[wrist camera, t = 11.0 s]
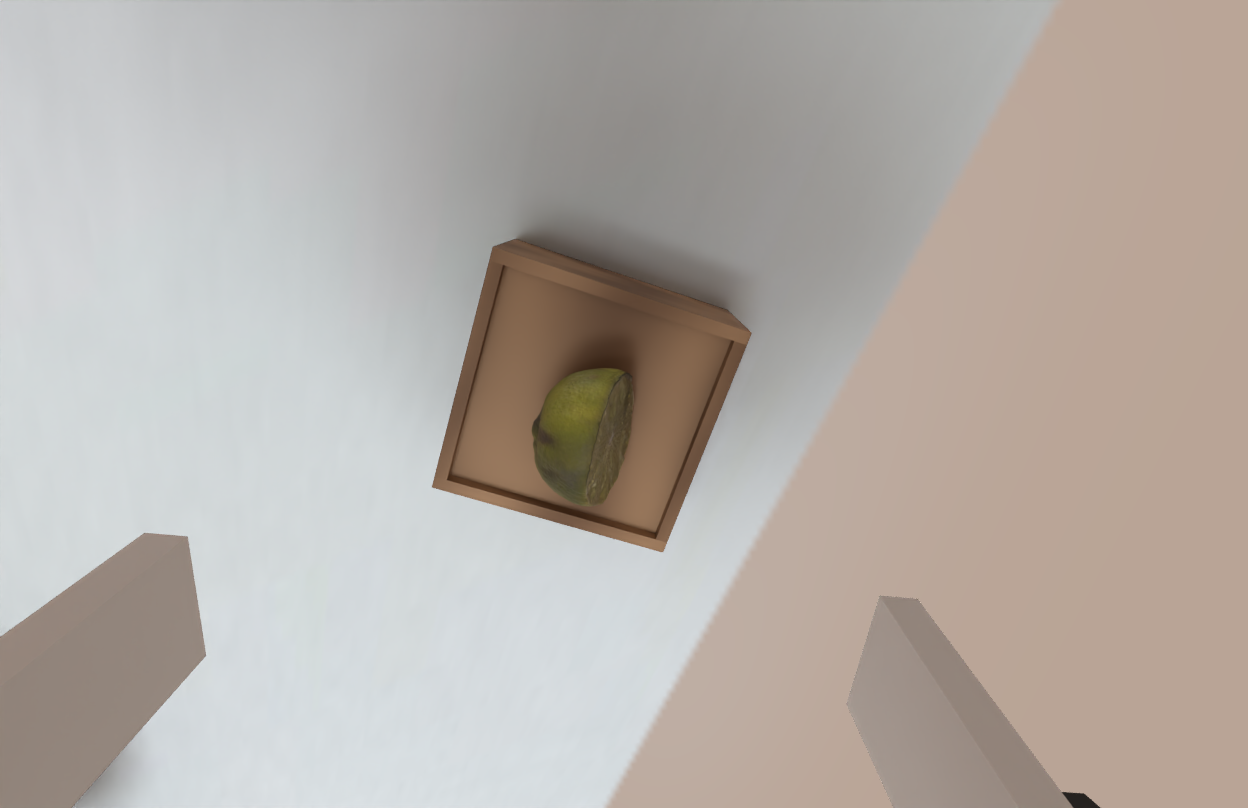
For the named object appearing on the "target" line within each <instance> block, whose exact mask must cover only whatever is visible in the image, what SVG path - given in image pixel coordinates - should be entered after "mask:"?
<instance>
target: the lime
mask: <svg viewBox="0 0 1248 808" xmlns="http://www.w3.org/2000/svg"><path fill="white" fill-rule="evenodd" d="M631 382H632V375H630V373H627V372H625V371H622V370H619V369H613V368H598V369H589V370H583V371H579V372H575V373H573V374H570V375H568V376H567V377H565V378H563V379H562V380H561V381H560V382H559V383H558V384H557V385H555V386H554V387H553V388H552V389H551V391H550V392H549V393H548V394H547V396H546V398H545V401H544V404H543V407H542V409H541V412H540V414H539V415H538V417H537V418H536V419H535V421H534V422H533V425H532V436H533V438H534V440H533V448H534V460H535V464H536V468H537V470H538V472H539V474H540V475H541V477H542V479H543V480H544V481H545V482H546V484H547V485H548V486H549V487H550V488H551V489H552V490H553V491H554V492H556V493H557V494H558V495H559V496H561V497H563V498H565V499H566V500H568V501H570V502H572V503H574V504H577V505H581V506H596V505H600V504H603V503H604V501H605V500H606V499H607V496H608V494H609V492H610V490H611V489H612V487H613V485H614V483H615V482H616V481H617V479H618V475H619V471H620V470H621V466H622V464H623V462H624V460H625V457H624V455H625V452H626V450H627V447H628V443H629V438H630V433H631V421H632V412H633V404H634V392H633V385H632V384H631Z"/></svg>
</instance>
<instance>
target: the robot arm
mask: <svg viewBox="0 0 1248 808" xmlns="http://www.w3.org/2000/svg"><path fill="white" fill-rule="evenodd" d="M205 656H206V652H205V645H204V639H203V632H202V626H201V620H200V613H199V607H198V600H197V594H196V588H195V581H194V575H193V568H192V562H191V555H190V549H189V543H188V537H187V536H175V535H163V534H152V533H144V534H142V535H141V536H140V537H138V538H137V539H135V540H134V541H133V542H131V543H130V544H129V545H127V546H126V547H124V548H123V549H122V550H120V551H119V552H117V553H116V554H115V555H113V556H112V557H111V558H109V559H108V560H106V561H105V562H104V563H102V564H101V565H99V566H98V567H97V568H95V569H94V570H92V571H91V572H90V573H88V574H87V575H86V576H84V577H83V578H81V579H80V580H79V581H77V582H76V583H74V584H73V585H72V586H70V587H69V588H68V589H66V590H65V591H63V592H62V593H61V594H59V595H58V596H56V597H55V598H54V599H52V600H51V601H50V602H48V603H47V604H45V605H44V606H43V607H41V608H40V609H38V610H37V611H36V612H34V613H33V614H32V615H30V616H29V617H27V618H26V619H25V620H23V621H22V622H20V623H19V624H18V625H16V626H15V627H14V628H12V629H11V630H9V631H8V632H7V633H5V634H4V635H2V636H1V637H0V808H72V807H73V805H74V804H75V803H76V802H77V801H78V800H79V799H80V798H81V796H82V795H83V794H84V793H85V792H86V791H87V790H88V788H89V787H90V786H91V785H92V784H93V783H94V782H95V781H96V779H97V778H98V777H99V776H100V775H101V774H102V773H103V772H104V770H105V769H106V768H107V767H108V766H109V765H110V764H111V762H112V761H113V760H114V759H115V758H116V757H117V756H118V755H119V753H120V752H121V751H122V750H123V749H124V748H125V747H126V746H127V744H128V743H129V742H130V741H131V740H132V739H133V738H134V736H135V735H136V734H137V733H138V732H139V731H140V730H141V729H142V727H143V726H144V725H145V724H146V723H147V722H148V721H149V720H150V718H151V717H152V716H153V715H154V714H155V713H156V712H157V710H158V709H159V708H160V707H161V706H162V705H163V704H164V703H165V701H166V700H167V699H168V698H169V697H170V696H171V695H172V694H173V692H174V691H175V690H176V689H177V688H178V687H179V686H180V685H181V683H182V682H183V681H184V680H185V679H186V678H187V677H188V675H189V674H190V673H191V672H192V671H193V670H194V669H195V668H196V666H197V665H198V664H199V663H200V662H201V661H202V660H203V659H204V657H205ZM847 706H848V708H849V711H850V713H851V715H852V717H853V720H854V722H855V724H856V726H857V728H858V731H859V733H860V735H861V737H862V739H863V742H864V744H865V746H866V748H867V750H868V753H869V755H870V757H871V759H872V761H873V764H874V766H875V768H876V770H877V773H878V775H879V777H880V779H881V781H882V784H883V786H884V788H885V790H886V792H887V795H888V797H889V799H890V801H891V803H892V806H893V808H1100V807H1099V806H1098V805H1097V804H1095V803H1094V802H1093V801H1092V800H1091V799H1090V798H1089V797H1087V796H1086V795H1085V794H1081V793H1067V792H1061V791H1060V789H1059V788H1058V787H1057V785H1056V784H1055V783H1054V781H1053V780H1052V779H1051V777H1050V776H1049V775H1048V773H1047V772H1046V771H1045V769H1044V768H1043V767H1042V765H1041V764H1040V763H1039V761H1038V760H1037V759H1036V757H1035V756H1034V754H1033V753H1032V752H1031V751H1030V749H1029V748H1028V746H1027V745H1026V744H1025V742H1024V741H1023V740H1022V738H1021V737H1020V736H1019V734H1018V733H1017V732H1016V730H1015V729H1014V728H1013V726H1012V725H1011V724H1010V722H1009V721H1008V720H1007V718H1006V717H1005V716H1004V715H1003V713H1002V711H1001V710H1000V709H999V707H998V706H997V705H996V703H995V702H994V701H993V699H992V698H991V697H990V695H989V694H988V693H987V691H986V690H985V689H984V687H983V686H982V685H981V683H980V682H979V681H978V679H977V678H976V677H975V675H974V674H973V673H972V671H971V670H970V669H969V667H968V666H967V665H966V663H965V662H964V660H963V659H962V658H961V657H960V655H959V654H958V652H957V651H956V650H955V649H954V647H953V646H952V644H951V643H950V642H949V640H948V639H947V638H946V636H945V635H944V634H943V632H942V631H941V630H940V628H939V627H938V626H937V624H936V623H935V622H934V620H933V619H932V618H931V616H930V615H929V614H928V612H927V611H926V610H925V608H924V607H923V605H922V604H921V603H920V601H919V600H918V599H912V598H900V597H889V596H879V600H878V603H877V606H876V609H875V613H874V616H873V619H872V622H871V626H870V629H869V632H868V636H867V639H866V642H865V645H864V649H863V652H862V655H861V658H860V662H859V665H858V668H857V672H856V675H855V678H854V681H853V685H852V688H851V691H850V694H849V698H848V701H847Z"/></svg>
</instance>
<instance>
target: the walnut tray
mask: <svg viewBox="0 0 1248 808" xmlns="http://www.w3.org/2000/svg"><path fill="white" fill-rule="evenodd" d="M750 336H751V332H750V331H749V330H748V329H747V328H746V327H745V326H744V325H743V324H742V323H741V322H740V321H739V320H738V319H736V318H735V317H734V316H733V315H732V314H731V313H730V312H729V311H728V310H726V309H723V308H720V307H717V306H714V305H711V304H708V303H705V302H702V301H699V300H696V299H693V298H690V297H687V296H684V295H681V294H678V293H675V292H672V291H669V290H666V289H663V288H660V287H657V286H654V285H651V284H648V283H645V282H642V281H639V280H636V279H633V278H630V277H627V276H624V275H621V274H618V273H615V272H612V271H609V270H606V269H603V268H601V267H598V266H595V265H592V264H589V263H586V262H583V261H580V260H577V259H574V258H571V257H568V256H565V255H562V254H559V253H556V252H553V251H550V250H547V249H544V248H541V247H538V246H535V245H532V244H529V243H526V242H523V241H520V240H517V239H514V240H511V241H508V242H505V243H502V244H500V245H497V246H494V247H493V248H492V252H491V256H490V260H489V264H488V268H487V272H486V276H485V280H484V284H483V288H482V291H481V295H480V299H479V303H478V307H477V311H476V315H475V319H474V323H473V327H472V331H471V335H470V339H469V343H468V347H467V351H466V355H465V359H464V363H463V367H462V370H461V374H460V378H459V382H458V386H457V390H456V394H455V398H454V402H453V406H452V410H451V414H450V418H449V422H448V426H447V430H446V434H445V438H444V442H443V446H442V449H441V453H440V457H439V461H438V465H437V469H436V473H435V477H434V481H433V485H432V487H433V488H436V489H440V490H443V491H447V492H450V493H454V494H458V495H461V496H465V497H468V498H472V499H475V500H479V501H482V502H486V503H489V504H493V505H497V506H500V507H504V508H507V509H511V510H514V511H518V512H521V513H525V514H528V515H532V516H536V517H539V518H543V519H546V520H550V521H553V522H557V523H560V524H564V525H567V526H571V527H575V528H578V529H582V530H585V531H589V532H592V533H596V534H599V535H603V536H606V537H610V538H614V539H617V540H621V541H624V542H628V543H631V544H635V545H638V546H642V547H645V548H649V549H653V550H656V551H660V552H663V551H664V549H665V546H666V544H667V541H668V539H669V536H670V534H671V531H672V529H673V526H674V524H675V521H676V519H677V516H678V514H679V511H680V509H681V507H682V504H683V502H684V499H685V497H686V494H687V492H688V489H689V487H690V484H691V482H692V479H693V477H694V474H695V472H696V469H697V467H698V465H699V462H700V460H701V457H702V455H703V452H704V450H705V447H706V445H707V442H708V440H709V437H710V435H711V432H712V430H713V427H714V425H715V422H716V420H717V418H718V415H719V413H720V410H721V408H722V405H723V403H724V400H725V398H726V395H727V393H728V390H729V388H730V385H731V383H732V380H733V378H734V376H735V373H736V371H737V368H738V366H739V363H740V361H741V358H742V356H743V353H744V351H745V348H746V346H747V343H748V341H749V338H750ZM598 368H613V369H619V370H622V371H625V372H627V373H630V375H632V382H631V384H632V385H633V392H634V404H633V412H632V421H631V433H630V438H629V443H628V447H627V450H626V452H625V455H624V457H625V460H624V462H623V464H622V466H621V470H620V471H619V475H618V479H617V481H616V482H615V483H614V485H613V487H612V489H611V490H610V492H609V494H608V496H607V499H606V500H605V501H604V503H603V504H600V505H596V506H581V505H577V504H574V503H572V502H570V501H568V500H566V499H565V498H563V497H561V496H559V495H558V494H557V493H556V492H554V491H553V490H552V489H551V488H550V487H549V486H548V485H547V484H546V482H545V481H544V480H543V479H542V477H541V475H540V474H539V472H538V470H537V468H536V464H535V460H534V448H533V440H534V438H533V436H532V425H533V422H534V421H535V419H536V418H537V417H538V415H539V414H540V412H541V409H542V407H543V404H544V401H545V398H546V396H547V394H548V393H549V392H550V391H551V389H552V388H553V387H554V386H555V385H557V384H558V383H559V382H560V381H561V380H562V379H563V378H565V377H567V376H568V375H570V374H573V373H575V372H579V371H583V370H589V369H598Z"/></svg>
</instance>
